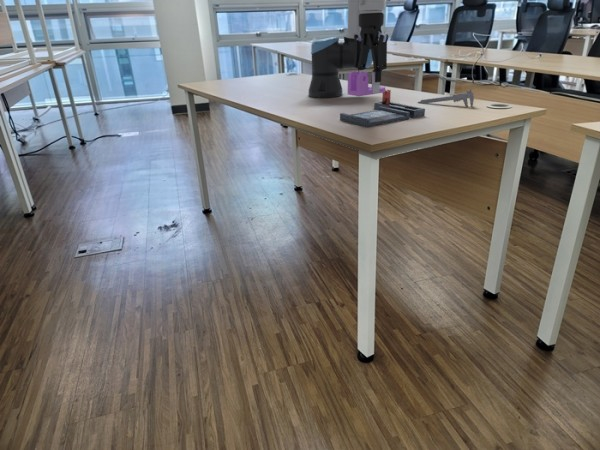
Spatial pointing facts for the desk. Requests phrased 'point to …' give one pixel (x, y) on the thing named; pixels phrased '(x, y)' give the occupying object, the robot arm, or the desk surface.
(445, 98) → the caliper
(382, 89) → the bracket
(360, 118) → the press bed
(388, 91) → the lever
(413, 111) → the frame
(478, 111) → the desk surface
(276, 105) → the desk surface
